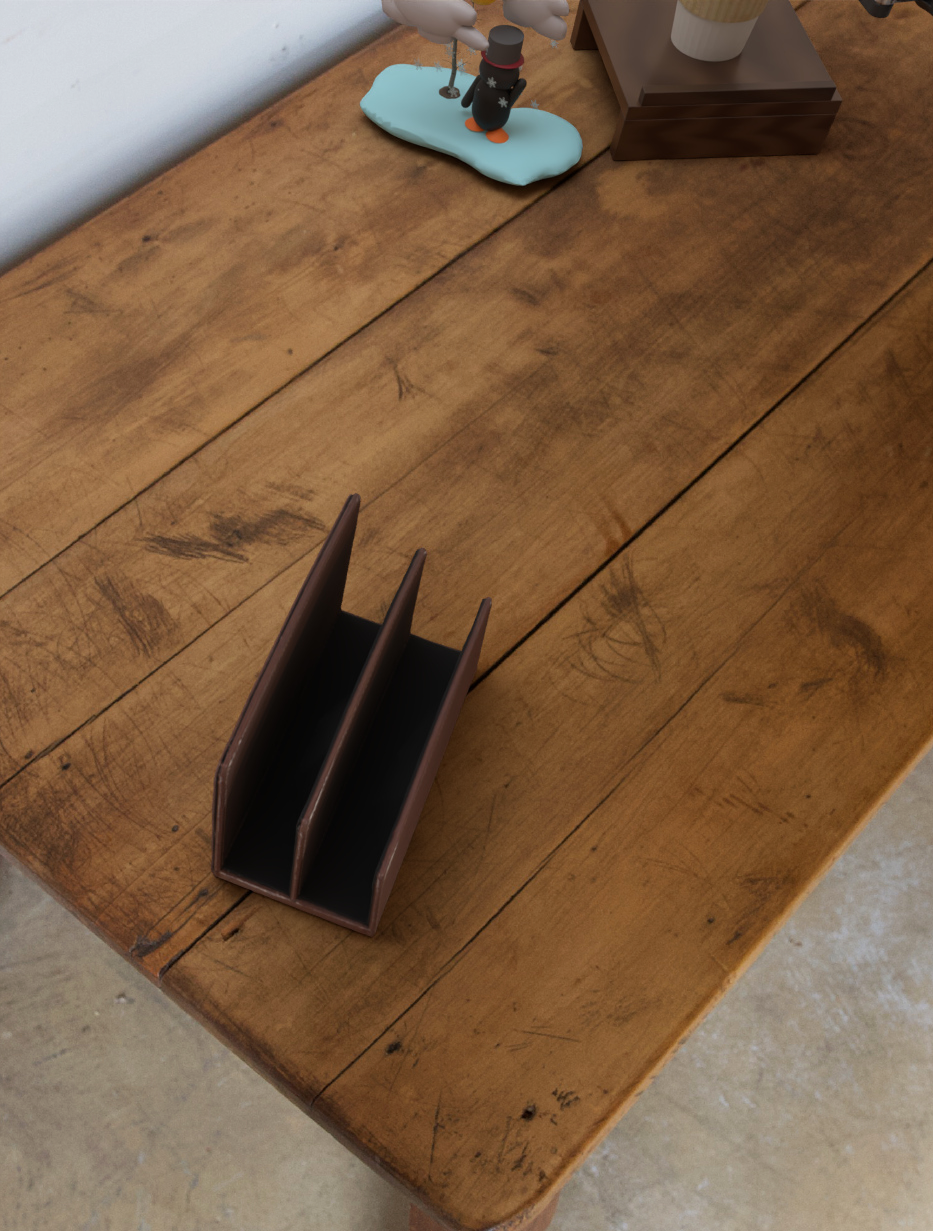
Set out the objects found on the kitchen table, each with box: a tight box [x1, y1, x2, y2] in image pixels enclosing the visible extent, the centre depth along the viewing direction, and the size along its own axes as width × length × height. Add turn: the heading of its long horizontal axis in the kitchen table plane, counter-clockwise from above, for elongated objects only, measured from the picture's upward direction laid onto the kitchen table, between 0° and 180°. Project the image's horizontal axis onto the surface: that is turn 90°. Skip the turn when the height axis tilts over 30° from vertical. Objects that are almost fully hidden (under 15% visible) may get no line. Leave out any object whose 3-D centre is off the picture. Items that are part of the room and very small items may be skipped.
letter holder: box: [210, 492, 493, 938], centre depth 70 cm, size 10×20×14 cm, turn 157°
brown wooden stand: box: [569, 0, 843, 161], centre depth 110 cm, size 18×18×6 cm
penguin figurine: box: [359, 0, 584, 187], centre depth 103 cm, size 20×11×15 cm, turn 50°
